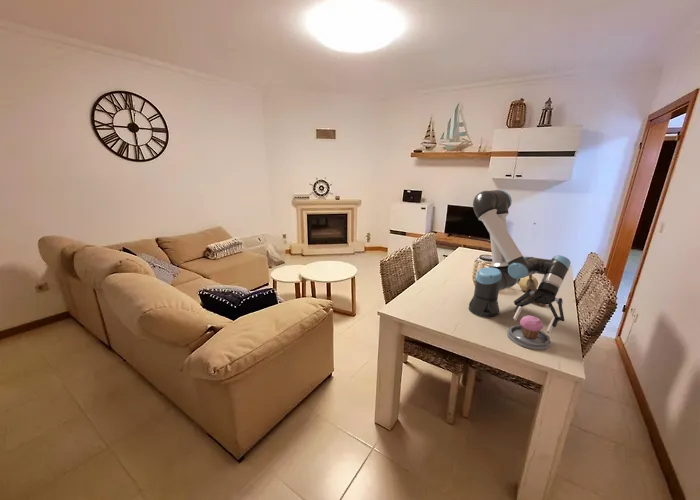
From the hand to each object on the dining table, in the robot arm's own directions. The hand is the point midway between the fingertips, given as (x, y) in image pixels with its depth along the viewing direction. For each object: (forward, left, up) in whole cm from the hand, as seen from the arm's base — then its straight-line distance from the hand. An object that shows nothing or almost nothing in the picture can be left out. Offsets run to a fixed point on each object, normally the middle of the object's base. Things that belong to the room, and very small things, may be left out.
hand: (530, 325), depth 130 cm
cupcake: (0, +2, -7) cm, 7 cm away
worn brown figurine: (-17, +44, -8) cm, 48 cm away
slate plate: (0, +2, -8) cm, 8 cm away
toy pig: (-28, +58, -8) cm, 65 cm away
